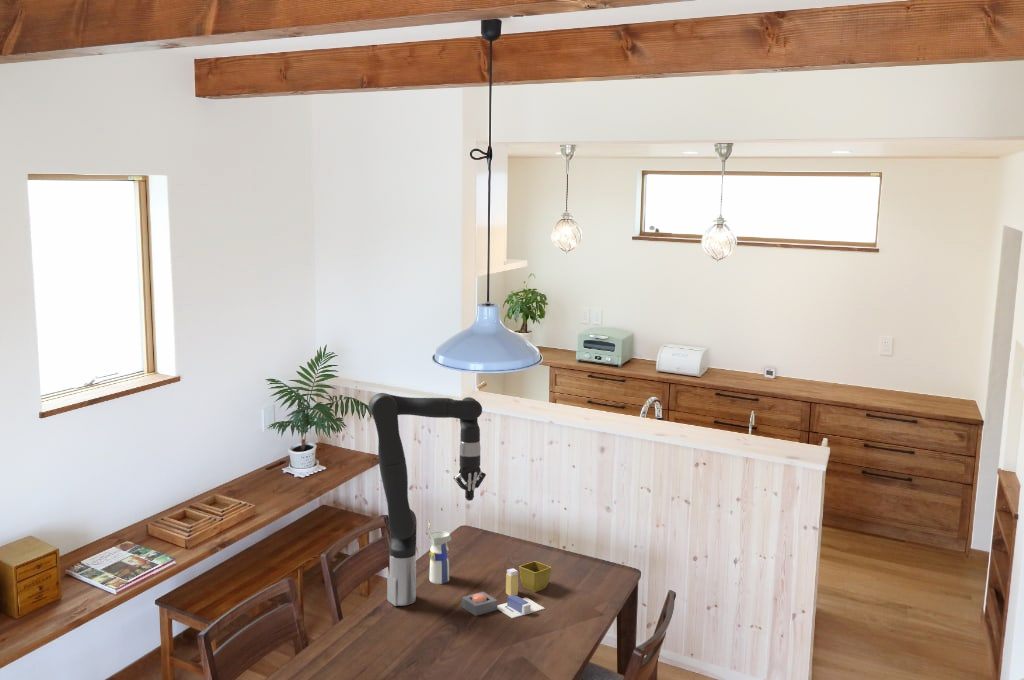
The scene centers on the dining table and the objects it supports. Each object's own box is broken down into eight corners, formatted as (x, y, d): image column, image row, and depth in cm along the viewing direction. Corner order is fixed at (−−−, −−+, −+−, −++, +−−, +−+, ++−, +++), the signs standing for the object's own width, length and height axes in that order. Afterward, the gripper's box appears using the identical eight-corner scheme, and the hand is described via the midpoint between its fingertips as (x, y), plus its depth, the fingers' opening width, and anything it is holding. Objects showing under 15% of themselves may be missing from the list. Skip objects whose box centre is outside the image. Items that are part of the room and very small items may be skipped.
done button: (477, 611, 293) (477, 600, 293) (469, 606, 297) (469, 595, 297) (489, 608, 296) (489, 597, 295) (481, 603, 300) (481, 592, 299)
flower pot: (534, 583, 320) (534, 560, 319) (551, 590, 313) (551, 566, 312) (518, 589, 313) (518, 566, 312) (534, 596, 307) (535, 572, 306)
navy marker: (507, 605, 299) (523, 614, 291) (507, 596, 298) (523, 606, 291) (514, 603, 300) (530, 612, 293) (514, 594, 300) (531, 603, 293)
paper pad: (512, 618, 289) (512, 617, 289) (494, 607, 298) (494, 606, 298) (544, 609, 297) (544, 608, 297) (526, 598, 306) (526, 597, 306)
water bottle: (437, 590, 311) (437, 524, 309) (423, 583, 318) (423, 518, 315) (454, 584, 317) (455, 520, 314) (441, 578, 323) (441, 514, 320)
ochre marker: (510, 597, 306) (511, 572, 305) (505, 594, 308) (506, 569, 307) (517, 595, 308) (518, 570, 307) (512, 592, 310) (513, 567, 309)
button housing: (475, 615, 290) (475, 606, 290) (461, 606, 298) (461, 597, 297) (497, 609, 295) (497, 600, 295) (483, 600, 303) (483, 591, 302)
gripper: (459, 457, 297) (459, 505, 299) (491, 453, 305) (490, 499, 307) (448, 453, 303) (448, 500, 305) (479, 448, 311) (479, 494, 313)
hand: (469, 499), depth 306 cm, fingers closed
